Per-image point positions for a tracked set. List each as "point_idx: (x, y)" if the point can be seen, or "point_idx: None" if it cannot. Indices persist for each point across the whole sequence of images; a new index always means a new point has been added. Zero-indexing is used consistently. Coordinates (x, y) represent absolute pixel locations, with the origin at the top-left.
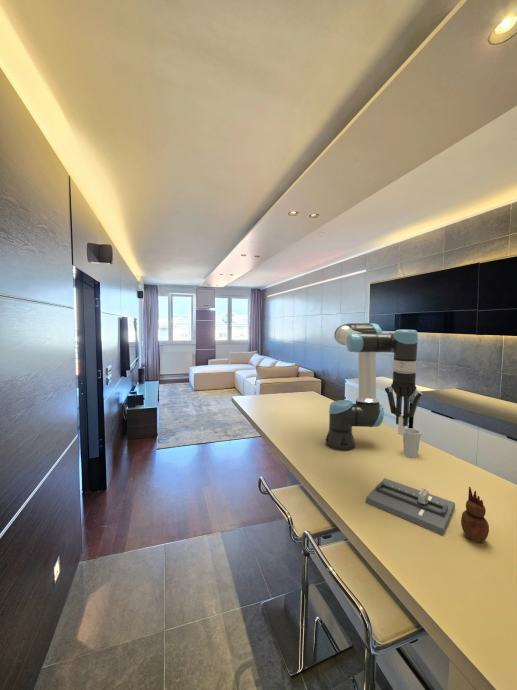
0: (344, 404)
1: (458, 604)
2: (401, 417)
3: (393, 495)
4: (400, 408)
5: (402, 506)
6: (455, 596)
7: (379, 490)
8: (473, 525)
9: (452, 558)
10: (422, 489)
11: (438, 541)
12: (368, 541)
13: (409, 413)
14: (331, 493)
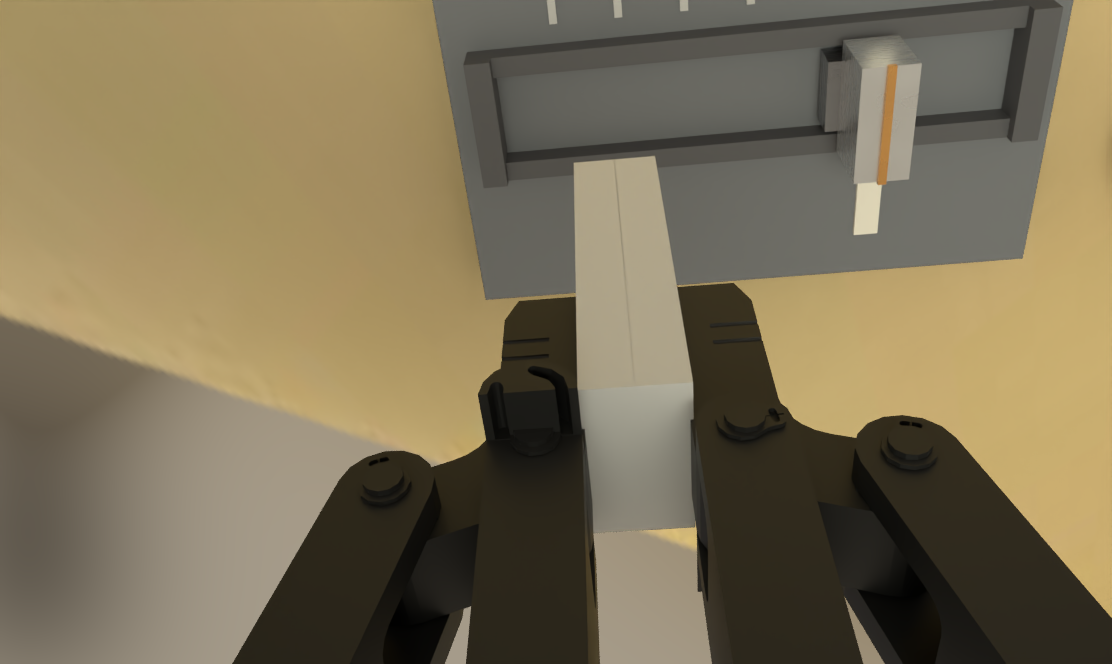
0: None
1: (1076, 567)
2: (651, 516)
3: None
4: (594, 658)
5: (733, 219)
6: (1066, 546)
7: (517, 177)
8: None
9: (1058, 375)
10: (869, 87)
11: (984, 306)
12: (679, 528)
13: (881, 637)
14: (268, 349)
